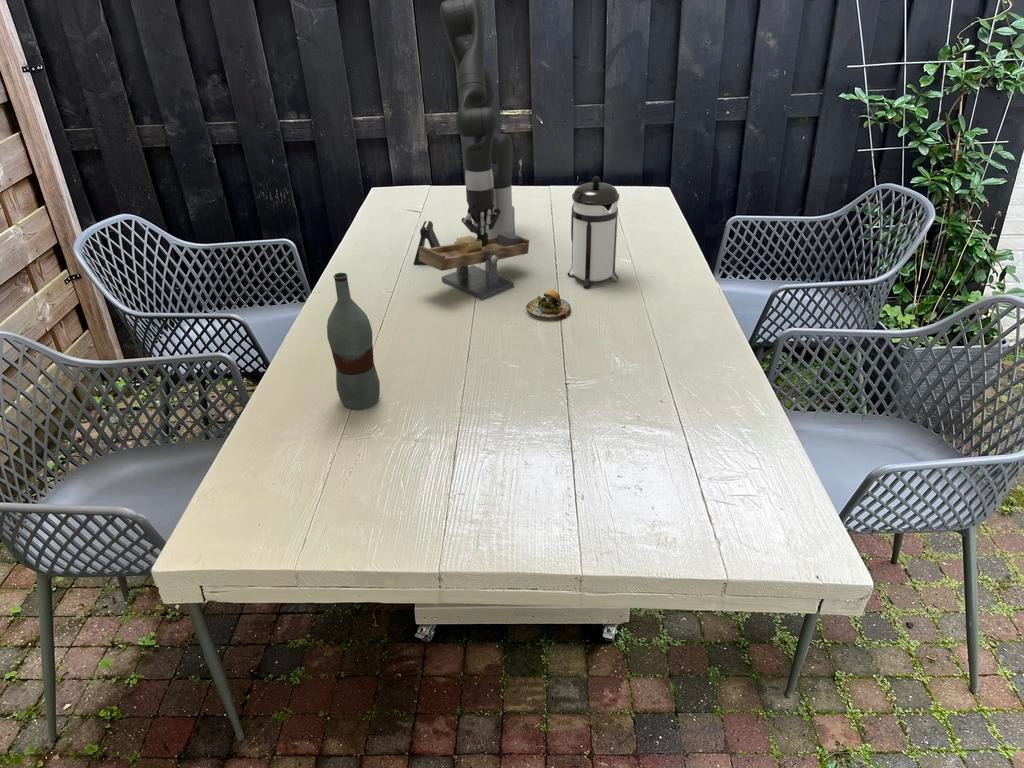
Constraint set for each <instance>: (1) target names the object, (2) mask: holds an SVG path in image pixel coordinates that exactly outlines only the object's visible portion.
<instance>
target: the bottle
mask: <svg viewBox="0 0 1024 768" xmlns="http://www.w3.org/2000/svg"><path fill="white" fill-rule="evenodd" d="M333 279H334V284H335V291H336V297H337V298H336V299H337V300H336V301H335V303H334V304H335V305H334V306H333V308H332V309H331V311H330V314H329V316H328V318H327V325H326V330H327V331H326V335H327V341H328V344H329V347H330V350H331V355H332V358H333V362H334V364H335V365H334V366H335V381H336V382H335V383H336V391H337V394H338V396H339V399H340V402H341V403H342V405H343V407H345V408H346V409H348V410H351V411H363V410H368V409H370V408H372V407H374V406H375V405H377V404H378V402H379V400H380V392H381V391H380V389H381V388H380V386H381V385H380V384H381V383H380V379H379V375H378V371H377V368H376V366H375V362H374V345H373V344H374V343H373V330H372V325H371V322H370V320H369V318H368V315H367V314H366V312H365V311H364V310H363V309H362V308H361V307H360V306H359V305H358V304H357V303H356V301H354V300H353V298H352V297H351V291H350V286H349V280H348V274H347V273H346V272H337V273H334V275H333Z"/></svg>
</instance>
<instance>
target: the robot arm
mask: <svg viewBox="0 0 1024 768" xmlns="http://www.w3.org/2000/svg"><path fill="white" fill-rule="evenodd" d="M439 8H440V10H439V12H440V13H439V15H440V19H441V24H442V26H443V29H444V33H445V35H446V36H445V37H446V38H447V41H448V45H449V48H450V51H451V54H452V57H453V59H454V63H455V67H456V68H455V69H456V71H457V72H456V73H457V83H458V89H459V90H458V92H459V104H458V109H457V113H456V118H455V128H456V131H457V133H458V134H459V135H460V136H461V137H463V138H472V141H473V144H470V145H468V146H467V147H466V148H465V150H464V161H465V162H464V163H465V164H464V166H465V176H464V179H465V193H466V203H467V206H468V208H467V214H466V216H465V217H462V218H461V223H463V225H464V226H465V227H466V228H467V229H468V230H469V232H470V233H473V234H475V235H476V238H477V239H480V240H482V247H484V246H487V243H488V238H491V237H497V236H498V234H500V233H503V232H509V233H511V234H514V235H516V219H515V214H516V213H515V206H513V192H512V177H513V154H514V152H513V148H514V147H513V140H512V137H511V135H510V134H507V133H499V132H498V133H497V132H496V128H497V123H498V119H497V118H498V117H497V114H496V112H495V111H494V109H493V104H494V102H495V97H496V91H495V89H494V84H493V79H492V76H491V73H490V71H489V69H488V68H487V67H486V65H485V62H484V61H485V16H484V11H483V7H482V3H481V0H443V1H442V2H441V3H440V7H439ZM469 35H470V36H471V40H470V43H469V45H468V48H467V47H466V45H465V43H464V40H462V37H464V36H469ZM493 165H496V166H497V167H496V170H495V171H493V167H492V166H493Z"/></svg>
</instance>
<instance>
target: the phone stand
mask: <svg viewBox="0 0 1024 768" xmlns="http://www.w3.org/2000/svg"><path fill="white" fill-rule="evenodd" d="M427 221H428V220H425V221H424V222H423V224H422V226H421V228H420V230H419V233H420V239H419V242H418V245H417V250H416V254H415V256H414V261H413V265H414V266H428V265H427V264H425V263H423V262H421V261H419V247H420V246H423V247H425V246H426V245H425V243H426V239H427V241H428V244H429V246H430V247H429V248H434V247H440V246H441V243H440V242H439V240H438V238H437V235H436V233H435V230H434V223H433V222H432V221H431V220H429V221H428V222H427ZM425 226H426V227H425Z"/></svg>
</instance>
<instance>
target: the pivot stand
mask: <svg viewBox="0 0 1024 768" xmlns="http://www.w3.org/2000/svg"><path fill="white" fill-rule="evenodd" d="M456 243H457V240H456V241H454V243H453V244H456ZM498 260H499V259H498V257H497V254H496V253H490V254H487V255H485V262H484V266H485V267H484V268H485V269H484V268H480V267H478V266H476V265H475V264H474V265H469V266H464V267H459V268H456V271H454V272H451V273H448V274H446V275H443V276H441V283H444V284H446V285H448V286H451V287H452V288H454V289H457V290H459V291H461V292H463V293H465V294H467V295H470V296H472V297H474V298H475V299H478V300H480V301H485V300H486V299H489V298H491V297H494V296H496V295H499V294H501V293H503V292H506V291H508V290H510V289H513V288H515V285H514V281H511V280H510V279H507V278H504V277H502V276H499V275H498V262H499V261H498Z"/></svg>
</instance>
